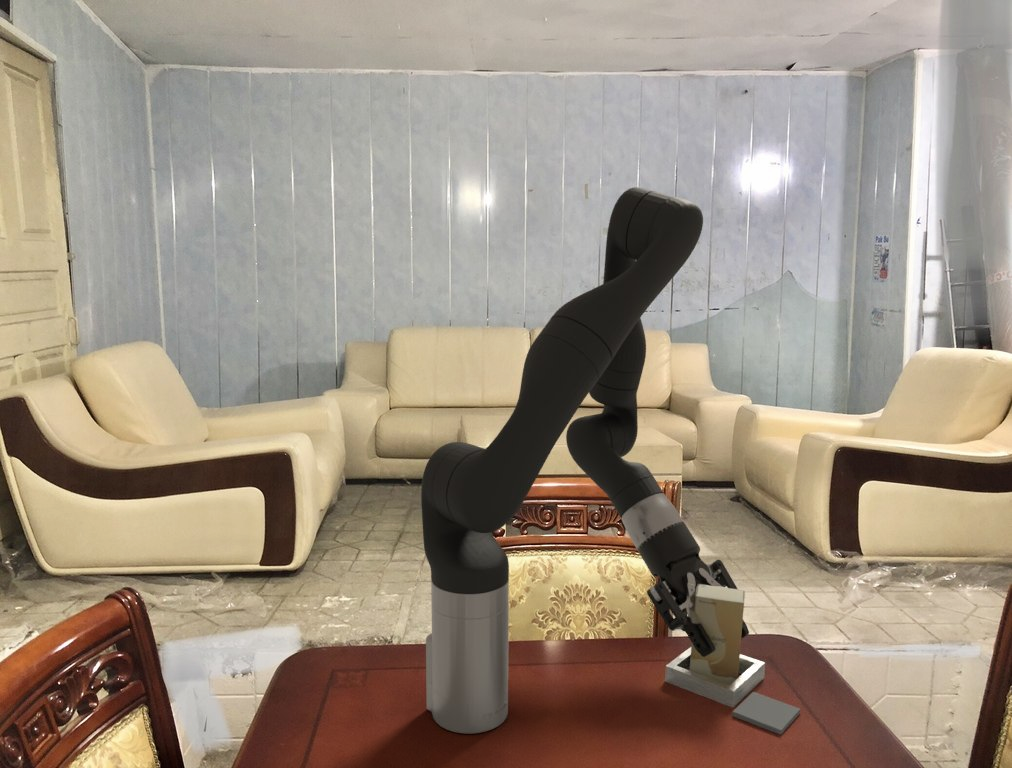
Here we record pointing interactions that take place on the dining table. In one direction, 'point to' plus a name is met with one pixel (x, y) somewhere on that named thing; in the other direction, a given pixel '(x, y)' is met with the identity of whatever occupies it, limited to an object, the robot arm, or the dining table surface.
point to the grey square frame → (711, 688)
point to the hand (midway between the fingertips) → (726, 645)
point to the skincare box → (719, 631)
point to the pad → (766, 712)
